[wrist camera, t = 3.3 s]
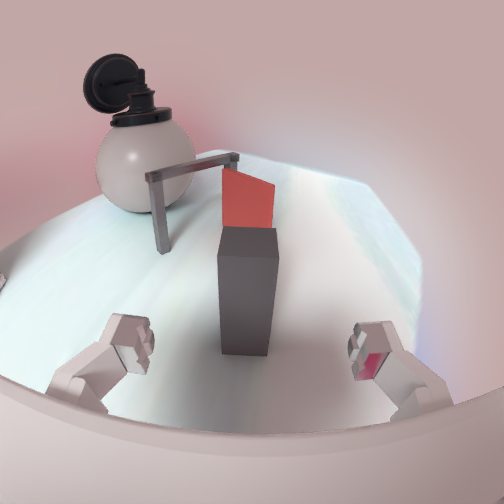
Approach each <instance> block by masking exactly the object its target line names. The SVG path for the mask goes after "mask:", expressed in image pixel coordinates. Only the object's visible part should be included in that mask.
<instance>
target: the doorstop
mask: <svg viewBox="0 0 504 504" xmlns="http://www.w3.org/2000/svg"><path fill="white" fill-rule="evenodd" d="M217 262H218V288H219V309H220V328H221V345H222V354H229V355H251V356H267V351H268V344H269V336H270V329H271V321H272V314H273V306H274V298H275V290H276V281H277V273H278V264H279V252H278V243H277V234H276V228H259V227H235V226H223V231H222V235H221V240H220V245H219V250H218V255H217Z"/></svg>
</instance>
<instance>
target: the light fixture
mask: <svg viewBox="0 0 504 504" xmlns="http://www.w3.org/2000/svg"><path fill="white" fill-rule="evenodd" d="M83 92H84V96H85V99H86V101H87V103H88V104H89V105H90V106H91V107H92V108H93V109H94V110H96V111H98V112H101V113H107V114H111V113H117V112H119V111H122V110H124V109H125V108H127V107H128V106H129V110H128V111H127V112H122V113H118V114H115V115H113V117H112V118H113V120H112V121H111V122H110V125H111V126H113V128H112V129H111V130H110V131H109V133H108V134H107V135H106V137H105V138H104V140H103V141H102V143H101V145H100V147H99V150H98V153H97V157H96V163H95V172H96V178H97V182H98V184H99V186H100V188H101V190H102V192H103V194H104V195H105V196H106V197H107V199H108V200H109V201H110V202H112V203H113V204H114V205H116V206H117V207H119V208H121V209H124V210H127V211H131V212H151V203H150V195H149V186H148V183H147V182H145V173H147V172H150V171H154V170H158V169H161V168H165V167H169V166H173V165H177V164H181V163H185V162H190V161H194V160H196V156H195V150H194V147H193V144H192V142H191V140H190V138H189V136H188V135H187V133H186V132H185V131H184V130H183V128H181V126H179V125H178V124H177V123H176V122H174V121H173V120H172V109H171V108H169V107H157V108H156V107H155V106H154V98H153V95H154V93H155V91H153V90H150V88H147V84H145V70H144V69H139V68H138V66H137V65H136V63H135V62H134V61H133V60H132V59H131V58H129V57H128V56H126V55H123V54H109V55H106V56H103V57H101V58H100V59H98V60H97V61H95V62H94V63H93V64H92V65H91V67H90V68H89V69H88V71H87V73H86V76H85V78H84V83H83ZM193 175H194V172H191V173H188V174H184V175H180V176H176V177H173V178H169V179H166V180H163V192H164V202H165V207H167V206H169V205H170V204H172V203H173V202H175V201H176V200H178V199H179V198H180V197H181V196H182V195H183V194H184V192H185V191H186V190H187V188H188V187H189V185H190V183H191V181H192V178H193Z"/></svg>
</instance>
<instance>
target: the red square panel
mask: <svg viewBox="0 0 504 504" xmlns="http://www.w3.org/2000/svg"><path fill="white" fill-rule="evenodd" d="M274 192H275V185H274V184H271V183H268V182H266V181H263V180H260V179H258V178H255V177H252V176H249V175H246V174H244V173H241V172H238V171H235V170H232V169H229V168H224V169H222V223H223V226H235V227H259V228H272V217H273V204H274Z"/></svg>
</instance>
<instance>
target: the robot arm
mask: <svg viewBox="0 0 504 504" xmlns="http://www.w3.org/2000/svg"><path fill="white" fill-rule="evenodd" d="M5 281H6V279H5V277H4V276H3V274H2V273H0V289H1V288H2V286H3V285H4V283H5ZM149 326H150V321H149V318H147V317H141V316H133V315H126V314H118V313H113V314H112V315H111V316H110V318H109V321H108V323H107V325H106V327H105V329H104V331H103V333H102V335H101V337H100V339H99V342H94V343H93V344H92V345H90V346H89V347H87V348H86V349H85V350H83V351H82V352H80V353H79V354H78V355H76V356H75V357H74V358H72V359H71V360H69V361H68V362H67V363H65V364H64V365H62V366H61V367H60V368H58V369H57V370H56V371H55V373H54V375H53V378H52V380H51V382H50V384H49V387H48V389H47V391H46V393H45V394H43V393H41V392H38V391H36V390H33V389H31V388H28V387H26V386H24V385H21V384H19V383H17V382H15V381H12V380H10V379H8V378H6V377H4V376H2V375H0V504H504V386H503V387H501V388H498V389H496V390H494V391H491V392H489V393H487V394H484V395H481V396H479V397H476V398H474V399H471V400H468V401H465V402H462V403H459V404H456V405H454V404H453V402H452V399H451V396H450V393H449V391H448V388H447V386H446V383H445V381H444V380H443V379H442V378H440V377H439V376H438V375H437V374H435V373H434V372H433V371H432V370H431V369H429V368H428V367H427V366H426V365H424V364H423V363H422V362H421V361H420V360H418V359H417V358H416V357H415V356H413V355H412V354H411V353H410V352H408V351H404V349H403V347H402V344H401V342H400V339H399V337H398V335H397V332H396V330H395V328H394V325H393V323H392V322H391V321H380V322H363V323H356V324H355V326H354V329H353V330H354V334H353V335H352V336H351V337H350V339H349V342H348V354H349V359H351V360H352V361H353V362H354V363H353V365H352V371H353V375H354V379H355V380H367V379H374V381H375V382H376V383H377V385H378V386H379V387H380V388H381V389H382V390H383V391H384V392H385V394H386V395H387V396H388V397H389V398H390V399H391V400H392V401H393V403H394V404H395V405H396V406H397V407H398V408H399V409H398V410H397V411H396V412H395V413H394V414H393V415H392V417H391V418H390V420H391V422H386V423H381V424H375V425H369V426H363V427H356V428H349V429H340V430H331V431H320V432H306V433H284V434H249V433H226V432H212V431H201V430H192V429H184V428H176V427H169V426H163V425H157V424H151V423H146V422H141V421H136V420H131V419H126V418H122V417H118V416H113V415H109V414H108V410H107V408H106V407H105V406H104V404H103V403H102V402H101V401H100V400H101V399H102V398H103V397H104V396H105V395H106V394H107V393H108V392H109V391H110V390H111V389H112V388H113V387H114V386H115V385H116V384H117V383H118V382H119V381H120V380H121V379H122V378H123V377H124V376H125V375H126V374H127V372H129V373H136V374H144V375H146V373H147V370H148V366H149V363H150V361H149V358H148V356H149V355H151V354H152V353H153V349H154V342H155V339H154V333H153V331H152V330H151V329H150V328H149Z"/></svg>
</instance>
